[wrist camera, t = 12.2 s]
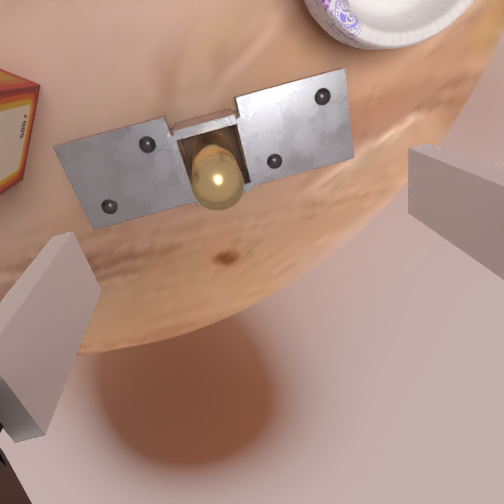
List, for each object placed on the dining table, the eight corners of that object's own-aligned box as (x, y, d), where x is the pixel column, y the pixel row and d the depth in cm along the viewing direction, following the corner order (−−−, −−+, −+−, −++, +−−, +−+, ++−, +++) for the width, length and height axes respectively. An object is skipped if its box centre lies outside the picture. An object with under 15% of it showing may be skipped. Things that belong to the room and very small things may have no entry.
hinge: (95, 226, 41) (84, 246, 36) (56, 145, 36) (37, 156, 32) (350, 155, 41) (369, 167, 37) (341, 67, 37) (361, 68, 32)
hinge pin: (198, 174, 40) (200, 216, 29) (187, 137, 38) (184, 167, 27) (234, 165, 40) (249, 202, 29) (225, 127, 38) (236, 153, 27)
